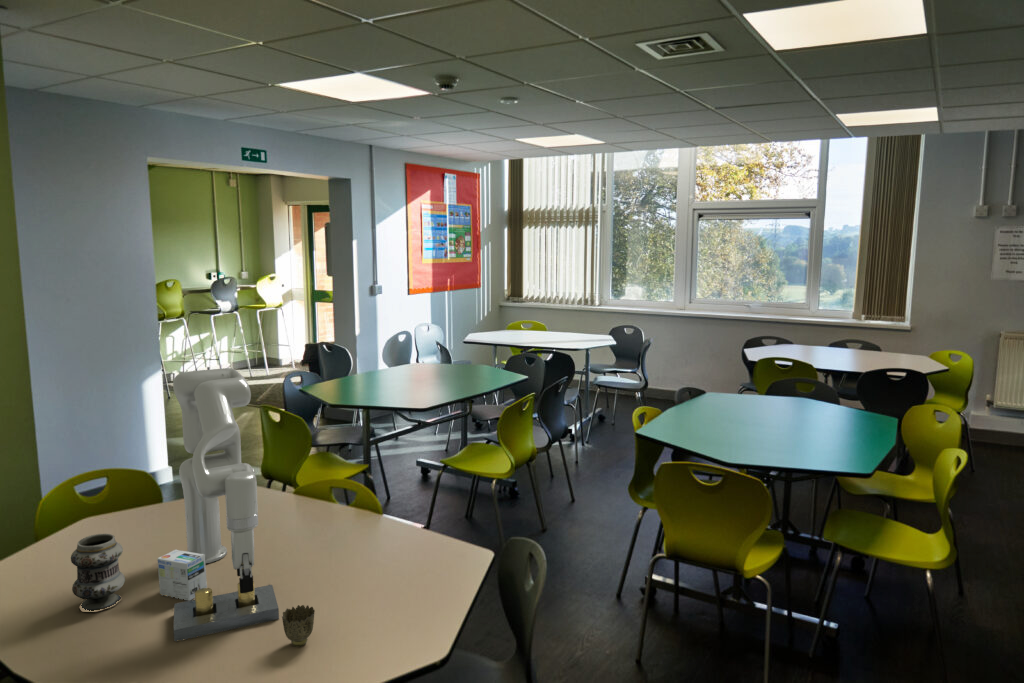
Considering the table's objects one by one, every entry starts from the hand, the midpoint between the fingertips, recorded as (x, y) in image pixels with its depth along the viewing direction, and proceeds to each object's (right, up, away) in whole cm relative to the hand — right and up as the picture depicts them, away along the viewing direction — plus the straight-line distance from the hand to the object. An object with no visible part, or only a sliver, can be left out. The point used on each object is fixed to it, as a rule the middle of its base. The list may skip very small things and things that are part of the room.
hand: (245, 583), depth 177 cm
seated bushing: (-9, -8, -4) cm, 13 cm away
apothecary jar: (-41, -8, +5) cm, 42 cm away
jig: (-4, -8, -2) cm, 9 cm away
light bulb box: (-21, -7, +11) cm, 25 cm away
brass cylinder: (0, -8, 0) cm, 8 cm away
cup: (+19, -10, -14) cm, 25 cm away
